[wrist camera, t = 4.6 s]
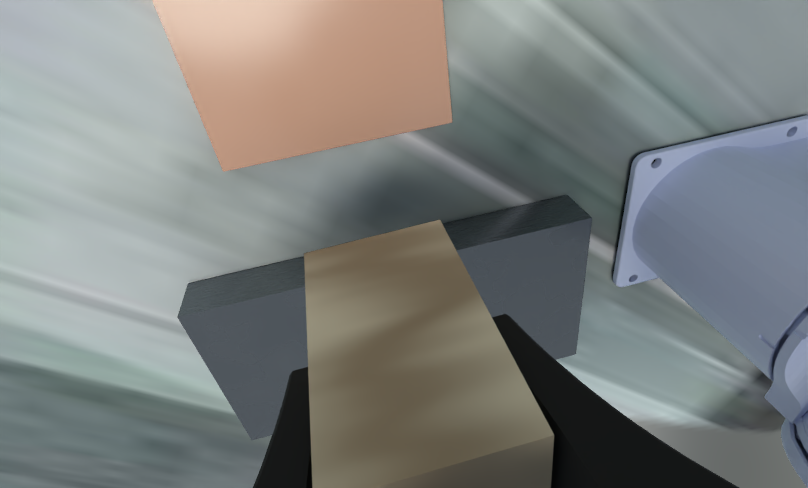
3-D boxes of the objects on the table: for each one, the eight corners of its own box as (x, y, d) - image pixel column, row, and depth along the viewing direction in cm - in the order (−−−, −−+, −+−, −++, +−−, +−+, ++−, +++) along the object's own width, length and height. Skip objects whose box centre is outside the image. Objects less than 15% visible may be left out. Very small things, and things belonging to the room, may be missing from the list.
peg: (439, 219, 13) (554, 434, 7) (452, 317, 15) (547, 539, 10) (303, 253, 13) (313, 506, 7) (338, 347, 15) (365, 595, 9)
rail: (567, 195, 22) (592, 218, 20) (556, 326, 27) (575, 354, 25) (188, 283, 20) (177, 317, 18) (255, 404, 25) (251, 440, 23)
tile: (421, -183, 13) (426, -188, 13) (448, 117, 18) (452, 122, 18) (103, -134, 12) (95, -137, 12) (225, 165, 17) (223, 171, 17)
